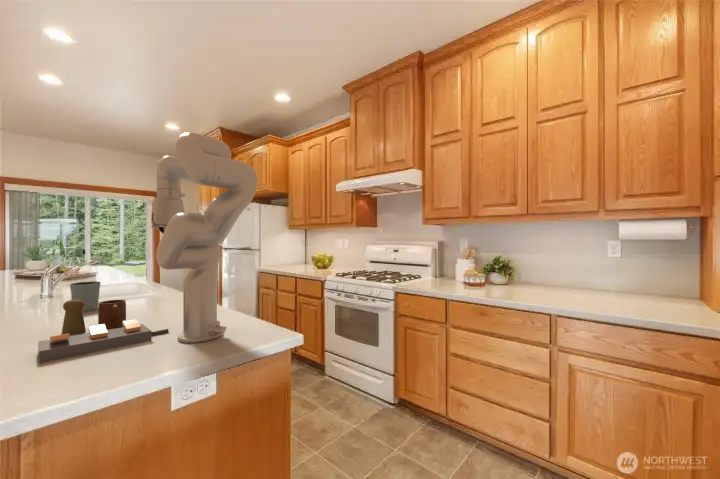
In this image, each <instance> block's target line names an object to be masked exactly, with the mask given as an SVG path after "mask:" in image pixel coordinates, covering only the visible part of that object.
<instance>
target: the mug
mask: <svg viewBox="0 0 720 479" xmlns="http://www.w3.org/2000/svg"><path fill="white" fill-rule="evenodd" d="M97 310H98V311H97V313H98V315H97V316H98V317H97V320H98V321H97V325H101V324H105V326H106V329H107V330H110V329H116V328H122V327H123V325H122V322H123V321H127V302H126V300H125V299H112V300H111V299H110V300H105V301H100V302H99V305H98V309H97Z"/></svg>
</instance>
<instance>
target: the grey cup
mask: <svg viewBox="0 0 720 479" xmlns="http://www.w3.org/2000/svg"><path fill="white" fill-rule="evenodd" d="M100 288H101V281H93V280H92V281H79V282H78V281H77V282H72V283H70V284H69V289H70V295H71V296H70V300H82V301H83V302H84V307H83V309H82V312H83V313H85V312H84V311H86V312H92V311H96V310H98V306H99V303H100V302H99V300H100Z"/></svg>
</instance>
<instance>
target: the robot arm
mask: <svg viewBox="0 0 720 479" xmlns="http://www.w3.org/2000/svg"><path fill="white" fill-rule="evenodd" d="M174 150H175V154H176V156H173V155H172V156H171V155H164V156H163V157H162V158H161V159H160V160H158V161H157V163H156V197H154V198H153V200H152V206H151V213H150V220H151V226H150V228H151V229H154V230H158V231H159V232H160V233H162V235H161V239H160V240H159V243H158V245H157V248H156V254H155V259H156V263H157V264H158V266H159V267H160V268H162V269H164V270H169V271H170V270H171V271H172V270H185V269H186V270H187V269H190V271H189V272H188V274H186V276H185V278H184V281H183V285H182V286H183V293H182V294H183V301H182V303H183V305H182V307H183V310H182V311H183V312H182V314H183V318H182V319H183V321H182V322H183V324H182V325H183V326H182V327H183V329H182V331H183V332H180V333H179V334H178V335H177V341H178V342H180V343H186V344H188V343H189V344H194V343H203V342H208V341H211V340H215V339H217V338H219V337H221V336H222V335H223V334H225V332H226V330H227V326H226V325H221V322H220V321H219V320H218V298H217V297H218V268H219V262H220V258H221V247H220V244H222V243H223V242H224V241H225V239H226V238H228V236H229V234H230V232H231V230H232V229H233V227H234V225H235V223H236V222H237V220H238V218H239V217H240V215H241V214H242V213H243V212H244V211H245V209H247V207H248V206H249V205H250V204H251V202H252V200H253V199H254V198H255V195H256V193H257V189H258V185H259V184H258V174H257V171H256V170H255V168H254V167H253V166H251V165H250V164H248V163H246V162H244V161H241V160H236V159H232V151H231V148H230V147H229V145H228V144H227V143H226V142H225V141H223V140H221V139H218V138H215V137H211V136H207V135H203V134H199V133H197V132H192V131H191V132H190V131H187V132H184V133H182V134H180V135H179V136H178V138H177V139H176V141H175V147H174ZM181 180H183V181H189V182H193V183H195V184H196V185H198V186H204V187H209V188H217V189H224V190H226V191H224V192H222V193H220V194H218V195H217V196H216V197H214V198H212V200H211V201H210V202H209V204H208V206H207V208H206V209H205V211H203V212H185V204H184V201H183V199H182V198H185V197H186V194H185V193H183V192H182V188H181V187H182V186H181V185H182V184H181V183H182V182H181Z"/></svg>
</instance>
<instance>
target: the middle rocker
mask: <svg viewBox="0 0 720 479" xmlns="http://www.w3.org/2000/svg"><path fill="white" fill-rule="evenodd" d="M88 333H90V336H91V339H94V338H99V337H105V336H108V331H107V329H106V326H105V324H101V325H98V324H97V325H96V324H95V325H89V326H88Z"/></svg>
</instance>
